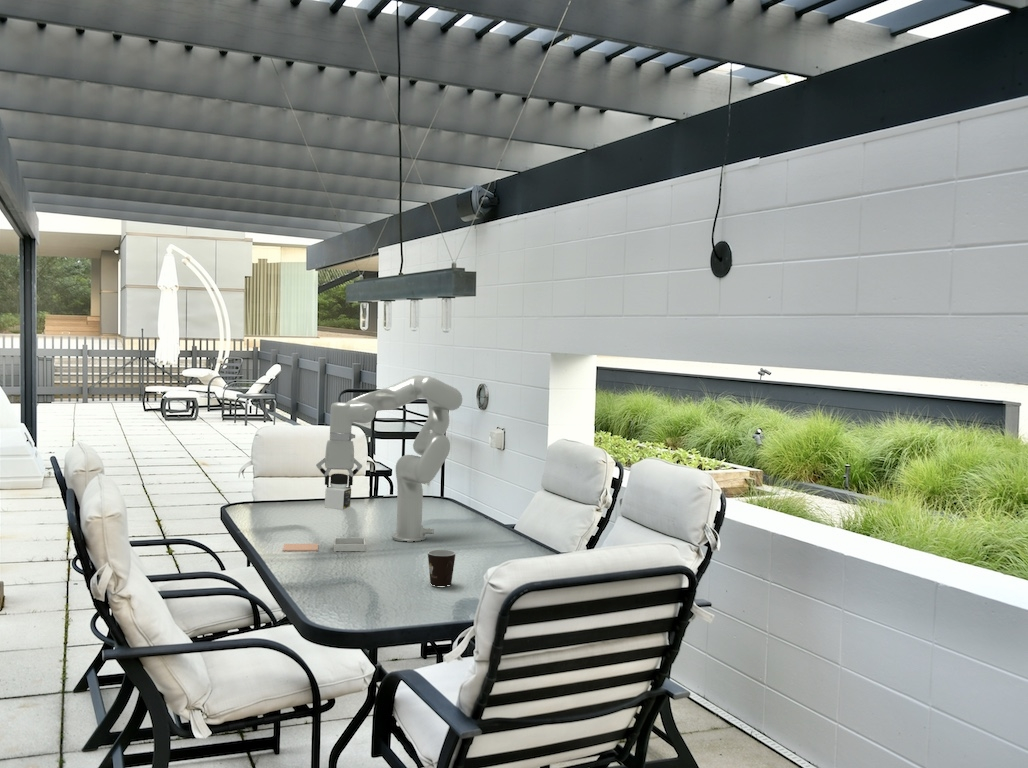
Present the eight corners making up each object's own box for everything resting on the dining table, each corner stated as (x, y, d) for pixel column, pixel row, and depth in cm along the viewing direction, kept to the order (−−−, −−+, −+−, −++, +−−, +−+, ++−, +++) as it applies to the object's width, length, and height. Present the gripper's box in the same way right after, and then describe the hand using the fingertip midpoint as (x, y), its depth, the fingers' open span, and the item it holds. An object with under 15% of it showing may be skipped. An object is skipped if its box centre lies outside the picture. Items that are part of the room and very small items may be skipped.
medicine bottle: (343, 510, 329) (345, 476, 329) (324, 508, 330) (326, 474, 330) (350, 507, 336) (352, 473, 336) (331, 505, 337) (333, 472, 337)
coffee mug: (427, 580, 294) (428, 549, 293) (454, 581, 295) (455, 549, 294) (426, 591, 282) (427, 558, 282) (454, 591, 283) (455, 558, 282)
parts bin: (364, 544, 341) (365, 537, 341) (365, 551, 330) (365, 544, 330) (334, 544, 339) (334, 537, 339) (333, 551, 329) (333, 544, 328)
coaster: (318, 545, 338) (318, 543, 338) (317, 551, 328) (317, 549, 328) (284, 545, 336) (284, 543, 336) (282, 551, 326) (282, 550, 326)
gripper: (364, 436, 337) (363, 486, 338) (315, 435, 334) (313, 485, 335) (365, 439, 330) (363, 489, 331) (315, 437, 327) (313, 488, 328)
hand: (338, 486), depth 333 cm, fingers closed on medicine bottle, 7 cm apart
